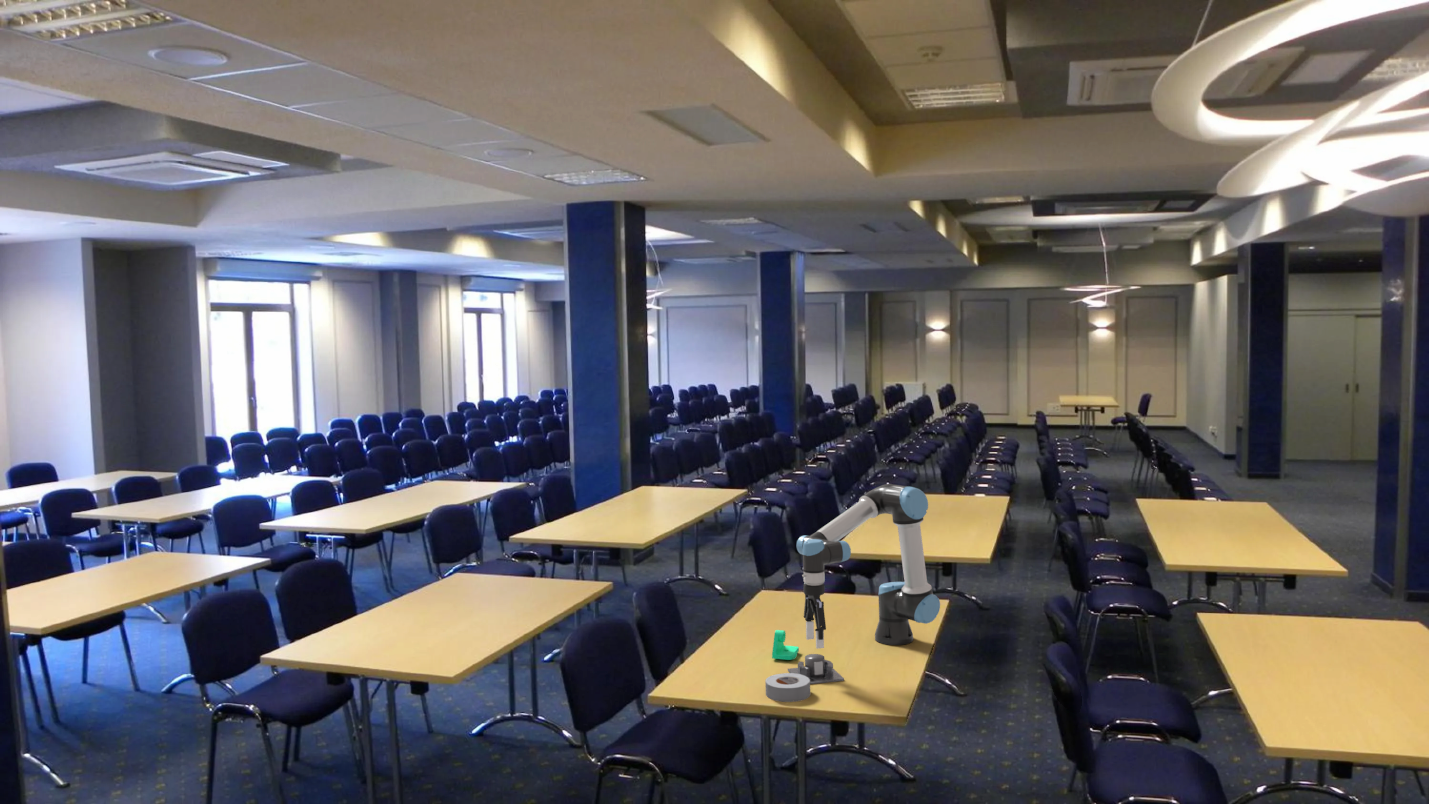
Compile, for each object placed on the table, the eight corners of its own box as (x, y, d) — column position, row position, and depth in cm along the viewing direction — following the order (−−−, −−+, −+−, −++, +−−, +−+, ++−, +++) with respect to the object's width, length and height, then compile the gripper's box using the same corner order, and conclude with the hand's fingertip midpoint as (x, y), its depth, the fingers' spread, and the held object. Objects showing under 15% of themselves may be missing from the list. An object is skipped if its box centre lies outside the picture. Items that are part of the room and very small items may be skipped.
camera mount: (791, 662, 377) (791, 635, 377) (772, 661, 380) (771, 634, 379) (799, 653, 389) (798, 627, 388) (780, 651, 391) (779, 625, 390)
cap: (820, 668, 366) (819, 652, 366) (828, 675, 358) (827, 659, 358) (802, 670, 365) (801, 654, 364) (809, 678, 357) (809, 661, 356)
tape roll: (766, 703, 336) (766, 688, 336) (764, 687, 351) (764, 673, 351) (812, 702, 336) (812, 687, 336) (808, 686, 351) (807, 672, 351)
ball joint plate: (829, 666, 371) (828, 655, 371) (844, 680, 356) (843, 668, 355) (787, 670, 368) (787, 659, 367) (801, 685, 352) (800, 673, 352)
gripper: (794, 576, 370) (795, 635, 371) (814, 591, 348) (815, 653, 349) (813, 575, 372) (814, 633, 373) (834, 589, 349) (835, 651, 351)
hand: (814, 643), depth 361 cm, fingers open, 10 cm apart
